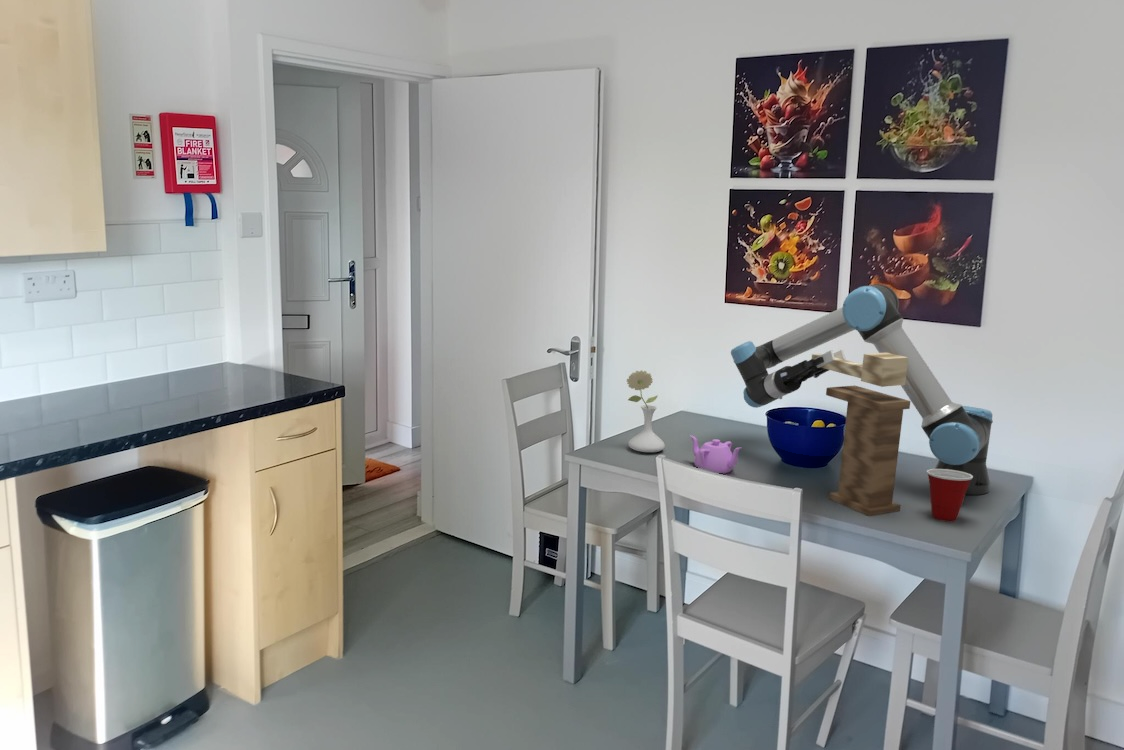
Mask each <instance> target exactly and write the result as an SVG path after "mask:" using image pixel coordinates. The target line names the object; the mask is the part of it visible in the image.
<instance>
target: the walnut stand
mask: <svg viewBox="0 0 1124 750" xmlns="http://www.w3.org/2000/svg"><path fill="white" fill-rule="evenodd" d="M825 396H828V397H831V398H833V399H838V400H841V401H844V402H847V406H846V415H845V417H846V418H845V424H844V426H845V427H844V432H843V433H844V434H843V442H842V454H841V462H840V473H839V482H838V491H834V492H829V494H828V495H829V496H828V499H829V500H832V501H834V502H836V503H838V504H841V505H843V506H845V507H848V508H850V509H852V510H854V511H856V512H859V513H861V514H863V515H865V516H868V517H871V516H878V515H884V514H889V513H895V512H900V511H901V504H899V503H896V502H894V501H893V498H894V490H895V482H896V474H897V465H898V459H899V458H898V456H899V449H900V448H899V447H900V440H901V431H902V424H903V423H902V422H903V417H904V410H910V408H911V400H910V399H909V400H908V399H905V398H901V397H897V396H895V395H890V394H887V393H883V392H879V391H876V390H872V389H869V388H865V387H862V386H858V385H845V386H830V387H826V392H825Z"/></svg>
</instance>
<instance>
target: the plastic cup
mask: <svg viewBox="0 0 1124 750" xmlns="http://www.w3.org/2000/svg"><path fill="white" fill-rule="evenodd" d="M926 474H927V477H928V483H929V492H930V493H929V494H930V496H929V497H930V505H931V506H930V508H931V516H932V517H933V518H934V519H936V520H939V521H942V522H943V521H944V522H955V521H957V519H958V516H959V514H960V511H961V508H962V505H963V502H964V499H965V496H966V495H967V494H966V490H967V488H968V485H969V483H970V481H971V479H972V478H973V476H972V475H971V474H968V473H965V472H961V471H956V470H949V469H935V468H930V469H927V470H926Z"/></svg>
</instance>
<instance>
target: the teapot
mask: <svg viewBox="0 0 1124 750" xmlns="http://www.w3.org/2000/svg"><path fill="white" fill-rule="evenodd" d="M689 437H690V439H691V440H692V452H693V453H692V454H693V455H694V465H695V467H696V468H697V467H699V468H703V469H707V470H710V471H713V472H717V473H723V474H722V475H724V474H728V473H730V472H731V471H732V470H733V469H734V468H735V467H736V465H737V463H738V461H739V451H740V450H741V449H742V447H736V448H734V449H733V452H732V451H731V449H732V442H731V441H729V440H728V441H725V442H721V440H720V439H716V438H715V439H712V441H707V442H704V443H703V444H702V445H701V447H699V443H698V439H697V438H696V437H695V436H694V435H691V434H689Z"/></svg>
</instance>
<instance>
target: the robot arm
mask: <svg viewBox="0 0 1124 750" xmlns="http://www.w3.org/2000/svg"><path fill="white" fill-rule="evenodd" d="M899 303H900V302H899V298H898V295H897V293H896V292H895V291H894V290H893V289H892V288H891V287H889V286H887V285H884V284H879V283H877V284H870V285H863V286H859V287H857V288H855V289H854V290H852V291H851V292H850V293H849V294H848V295H847V296H846V297H845V298H844V301H843V304H842V307H840V308H838V309H836V310H834V311H831V312H829V313H827V314H825V315H823V316H821V317H819V318H818V317H817V319H813V320H811V321H810V322H809V323H806V324H803V325H801V326H799V327H797V328H795V329H793V330H791V331H789V332H786V333H785V334H782V335H781V336H778V337H776V338H773V339H772V340H770V341H767V342H765V343H763V344H760V345H758V346H756V345H755V344H754V342H753V341H752V340H749V341H746V342H743V343H741V344H739V345H737V346H735V347H734V348H732V349H731V351H730V355H731V357H732V359H733V363H734V364H735V367H736V368H737V370H738V373H739V374H740V376H741V377H742V380H743V382H744V385H745V388H744V389H743V394H742V395H743V398H744V401H745V403H746V404H747V405H748V406H749V407H752V408H754V409H755V408H756V409H757V408H761V407H764V406H766V405H768V404H771V403H772V402H775V401H776V400H778V399H779V400H782V399H783V397H784V396H787V395H788V394H791V393H794V392H796V391H798V390H799V389H800V388H801V386H802V383H803V382H805V381H806V382H807V380H808V379H811V378H815V379H817V378H818V377H820V376H821V375H823V374H825V373H826V372H829V371H830V370H828V369H824V368H821V367H822V366H824V365H826V364H828V363H830V362H832V361H834V360H835V358H839V359H843V360H847V359H846V355H845V351H844V349H840V350H838V351H835V352H834V351H833V350H828V351H826V352H825V353H823V355H821V356H819V357H817V358H815V360H814V359H812V358H811V359H809V360H808V359H803V361H801V362H797V363H796V364H794V365H792V366H791V365H786V366H783V367H782V368H779V369H777V370H774V371H773V372H771V373H770V374H769V372H768V370H767V369H771V368H774V367H776V366H777V365H779V364H782V363H783V362H786V361H787V360H790V359H792V358H794V357H797V356H799V355H801V354H803V353H806V352H807V351H811V350H812V349H814V348H817V347H819V346H821V345H824V344H827V343H829V342H830V341H833V340H834V339H837V338H840V337H841V336H843V335H846V334H849V333H850V332H853V331H855V330H856V331H857V332H858V334H859V335H860V337H862V339H863V341H864V343H867V344H868V343H869V344H872V345H873V346H874V347H875V349H876V350H877V353H891V354H895V355H900V356H904V357H908V365H907V373H906V381H905V385H900V386H901V388H902V390H903V391H904V393H905V394H906V395H907V397H908V399H909V401H910V403H912V405H913V407H914V408H915V409H916V411H917V412H918V414H919V415H920V416H921V419H922V422H921V428H922V430H923V432H924V433H925V435H926V436H927V438H928V445H929V448H930V451H931V452H932V455H933V456H934V457H935V458H936V459H938V462H937V464H936V466H935V467H934V469H949V470H956V471H961V472H965V473H968V474H971V475H972V476H973V478H972V479H971V481H970V483H969V485H968V488H967V490H966V494H965V495H976V496H978V495H979V496H980V495H985V494H987V493H989V492H990V488H991V482H990V481H991V480H990V476H989V472H988V467H987V459H988V458H987V457H988V453H989V452H988V450H989V444H990V437H991V429H992V425H993V413H992V411H991V410H989V409H985V408H980V407H976V406H975V407H974V406H969V405H968V406H967V405H963V404H959V403H956V402H953V401H952V399H951V398H950V397H949V396H948V394H947V392H946V390H945V389H944V388H943V387H942V385H941V383H940V382H939V381H938V379H937V378H936V377H937V376H935V375H934V373H933V372H932V370H931V369H930V367H929V366H928V364H927V363H926V362H925V360H924V358H923V357H922V355H921V354H920V353H919V351H918V349H917V347H916V346H915V345H914V343H913V342H912V340H911V339H910V337H909V335H908V334H907V333H906V332H905V330H904V329H903V327H902V326H903V322H904V318H903V317H902V315H901V313H900V312H899V305H900V304H899Z"/></svg>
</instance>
